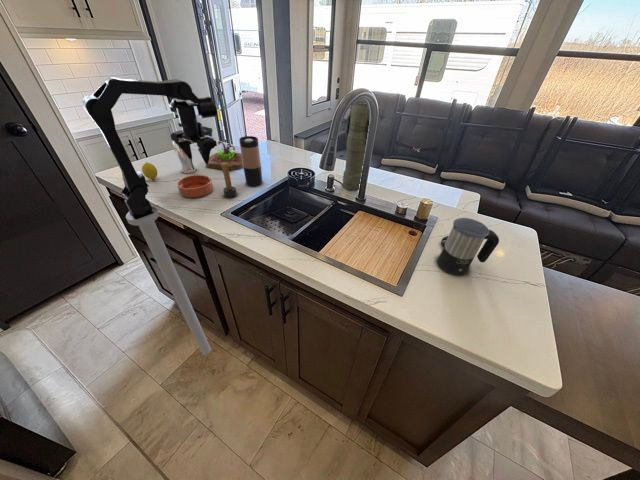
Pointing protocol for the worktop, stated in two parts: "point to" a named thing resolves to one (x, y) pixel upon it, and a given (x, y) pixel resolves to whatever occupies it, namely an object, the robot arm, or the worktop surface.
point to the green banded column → (355, 145)
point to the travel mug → (251, 160)
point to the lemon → (149, 170)
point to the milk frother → (466, 245)
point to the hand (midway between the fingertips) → (198, 161)
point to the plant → (225, 158)
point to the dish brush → (228, 183)
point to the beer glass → (184, 159)
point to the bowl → (195, 186)
